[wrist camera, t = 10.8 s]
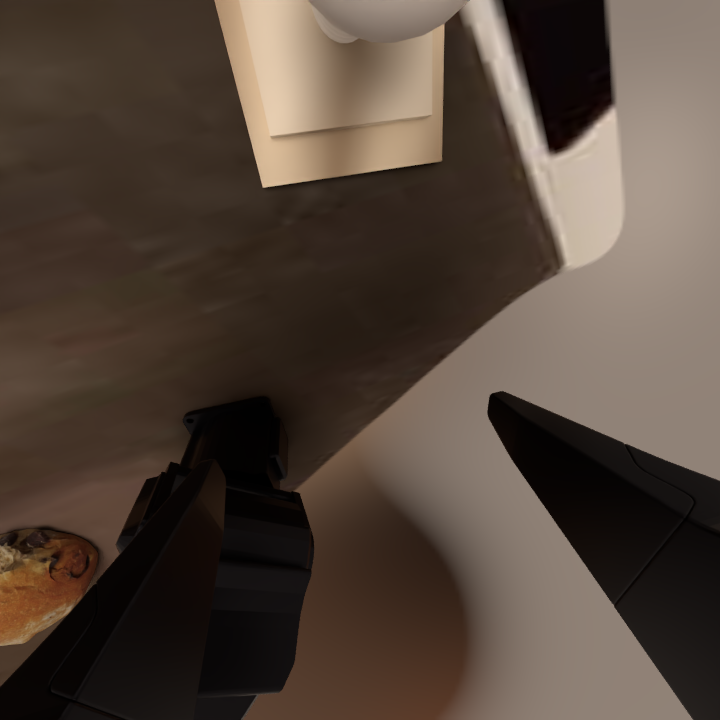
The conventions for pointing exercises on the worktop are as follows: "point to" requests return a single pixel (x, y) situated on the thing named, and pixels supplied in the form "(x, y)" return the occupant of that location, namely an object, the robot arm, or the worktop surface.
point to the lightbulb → (382, 18)
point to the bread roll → (40, 580)
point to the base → (331, 94)
